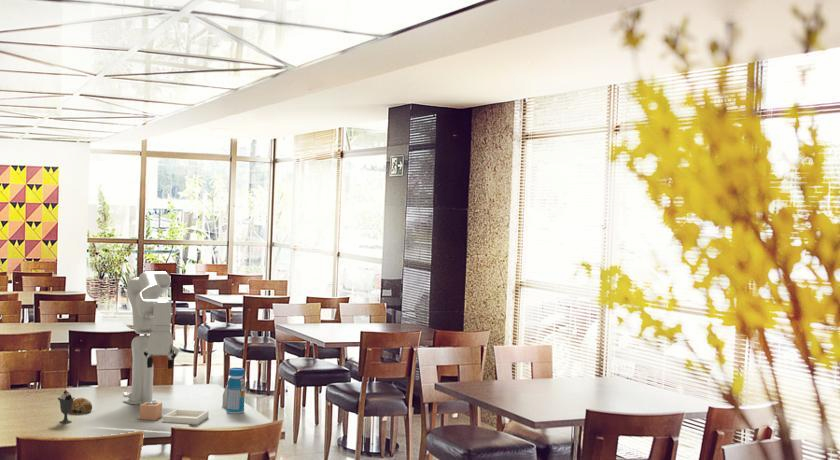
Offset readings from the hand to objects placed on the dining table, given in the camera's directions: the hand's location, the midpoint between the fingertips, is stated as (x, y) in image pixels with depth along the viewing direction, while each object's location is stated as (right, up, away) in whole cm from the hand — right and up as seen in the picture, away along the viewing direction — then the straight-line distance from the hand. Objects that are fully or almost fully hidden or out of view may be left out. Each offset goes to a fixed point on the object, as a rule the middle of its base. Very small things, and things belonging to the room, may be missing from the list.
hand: (160, 367), depth 359 cm
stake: (-3, -22, -4) cm, 22 cm away
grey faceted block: (+25, -23, +26) cm, 43 cm away
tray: (+12, -22, -4) cm, 26 cm away
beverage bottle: (+29, -23, +17) cm, 41 cm away
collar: (-3, -21, -4) cm, 22 cm away
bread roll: (-37, -21, +4) cm, 43 cm away
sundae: (-35, -20, -16) cm, 43 cm away
